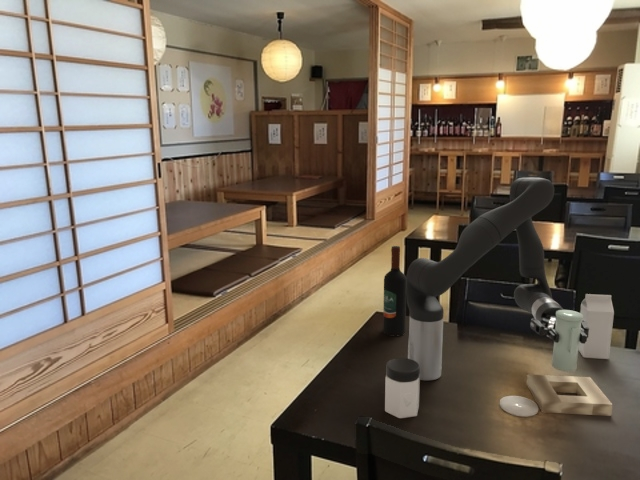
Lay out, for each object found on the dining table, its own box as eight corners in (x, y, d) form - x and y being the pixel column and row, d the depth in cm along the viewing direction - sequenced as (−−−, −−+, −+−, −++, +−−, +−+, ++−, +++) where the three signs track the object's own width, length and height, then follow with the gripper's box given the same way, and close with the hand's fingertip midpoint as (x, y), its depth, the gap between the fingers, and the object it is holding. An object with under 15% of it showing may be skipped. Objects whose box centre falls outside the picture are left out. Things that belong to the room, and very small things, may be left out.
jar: (390, 420, 124) (391, 374, 121) (379, 403, 131) (380, 359, 129) (425, 415, 126) (427, 370, 123) (412, 399, 133) (413, 355, 131)
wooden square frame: (542, 412, 126) (542, 401, 126) (526, 384, 140) (527, 374, 139) (611, 415, 124) (612, 404, 124) (588, 387, 138) (590, 377, 137)
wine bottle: (406, 336, 173) (409, 249, 167) (384, 336, 174) (385, 249, 167) (403, 327, 181) (405, 244, 174) (382, 327, 181) (383, 244, 175)
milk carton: (608, 359, 154) (615, 299, 150) (583, 358, 156) (589, 298, 152) (601, 349, 161) (607, 291, 157) (576, 348, 162) (582, 290, 158)
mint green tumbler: (557, 374, 126) (563, 320, 123) (547, 360, 133) (552, 309, 130) (583, 375, 125) (589, 321, 122) (572, 361, 132) (577, 310, 129)
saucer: (504, 415, 125) (504, 413, 125) (496, 396, 134) (496, 394, 134) (542, 417, 124) (543, 415, 124) (532, 398, 133) (532, 396, 133)
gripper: (523, 300, 142) (541, 323, 126) (578, 302, 140) (603, 326, 124) (521, 326, 144) (538, 352, 127) (575, 328, 142) (600, 355, 126)
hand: (570, 339), depth 126 cm, fingers closed on mint green tumbler, 5 cm apart
